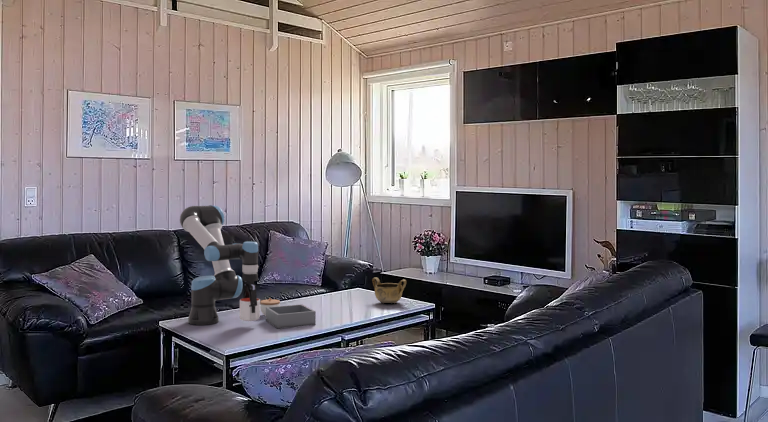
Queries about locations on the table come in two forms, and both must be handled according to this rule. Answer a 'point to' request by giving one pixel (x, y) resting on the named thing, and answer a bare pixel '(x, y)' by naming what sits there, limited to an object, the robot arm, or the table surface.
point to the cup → (248, 309)
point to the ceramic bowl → (388, 291)
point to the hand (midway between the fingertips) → (249, 316)
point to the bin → (290, 316)
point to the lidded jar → (268, 304)
